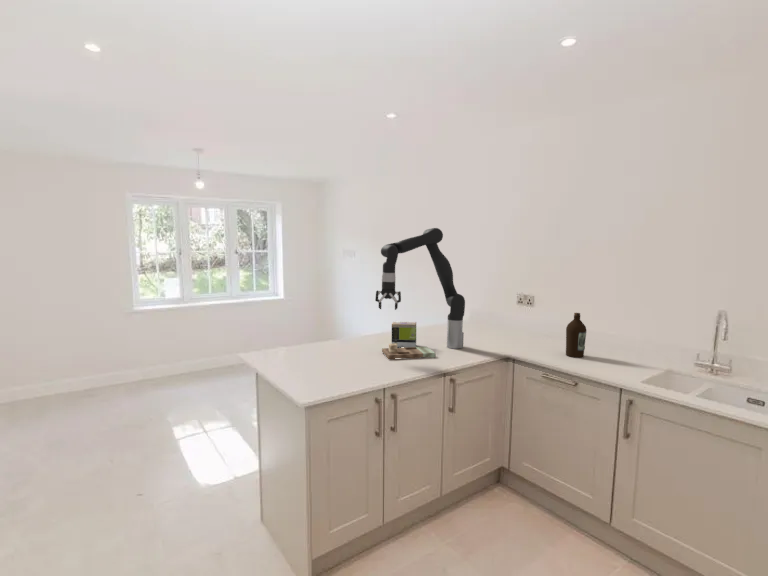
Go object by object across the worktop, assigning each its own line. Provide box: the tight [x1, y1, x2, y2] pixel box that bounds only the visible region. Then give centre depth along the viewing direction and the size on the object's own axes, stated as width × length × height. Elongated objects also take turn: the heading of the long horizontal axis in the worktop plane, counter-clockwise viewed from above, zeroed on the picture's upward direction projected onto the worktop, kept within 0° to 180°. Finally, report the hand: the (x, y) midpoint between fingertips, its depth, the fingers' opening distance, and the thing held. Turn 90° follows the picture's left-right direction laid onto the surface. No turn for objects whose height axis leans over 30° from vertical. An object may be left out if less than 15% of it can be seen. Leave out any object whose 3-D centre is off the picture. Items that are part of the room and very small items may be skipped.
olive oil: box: [565, 312, 587, 359], centre depth 243 cm, size 11×11×25 cm
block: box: [388, 343, 397, 352], centre depth 238 cm, size 4×4×4 cm
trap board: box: [381, 346, 436, 360], centre depth 241 cm, size 27×15×2 cm, turn 104°
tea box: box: [391, 321, 417, 347], centre depth 261 cm, size 15×10×15 cm, turn 84°
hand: (387, 309), depth 238 cm, fingers open, 8 cm apart
